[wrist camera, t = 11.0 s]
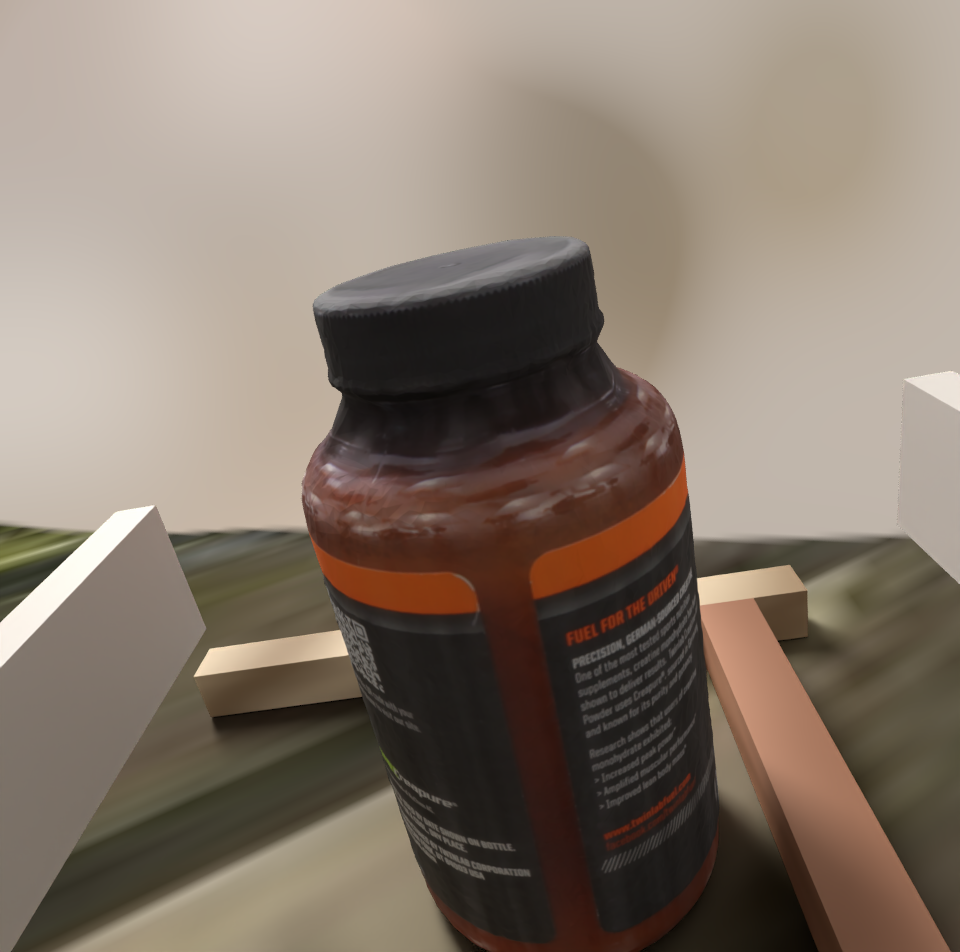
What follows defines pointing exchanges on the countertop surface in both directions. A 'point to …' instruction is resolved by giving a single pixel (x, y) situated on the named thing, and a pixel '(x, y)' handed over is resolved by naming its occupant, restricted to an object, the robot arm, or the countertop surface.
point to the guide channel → (756, 729)
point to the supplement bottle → (518, 596)
